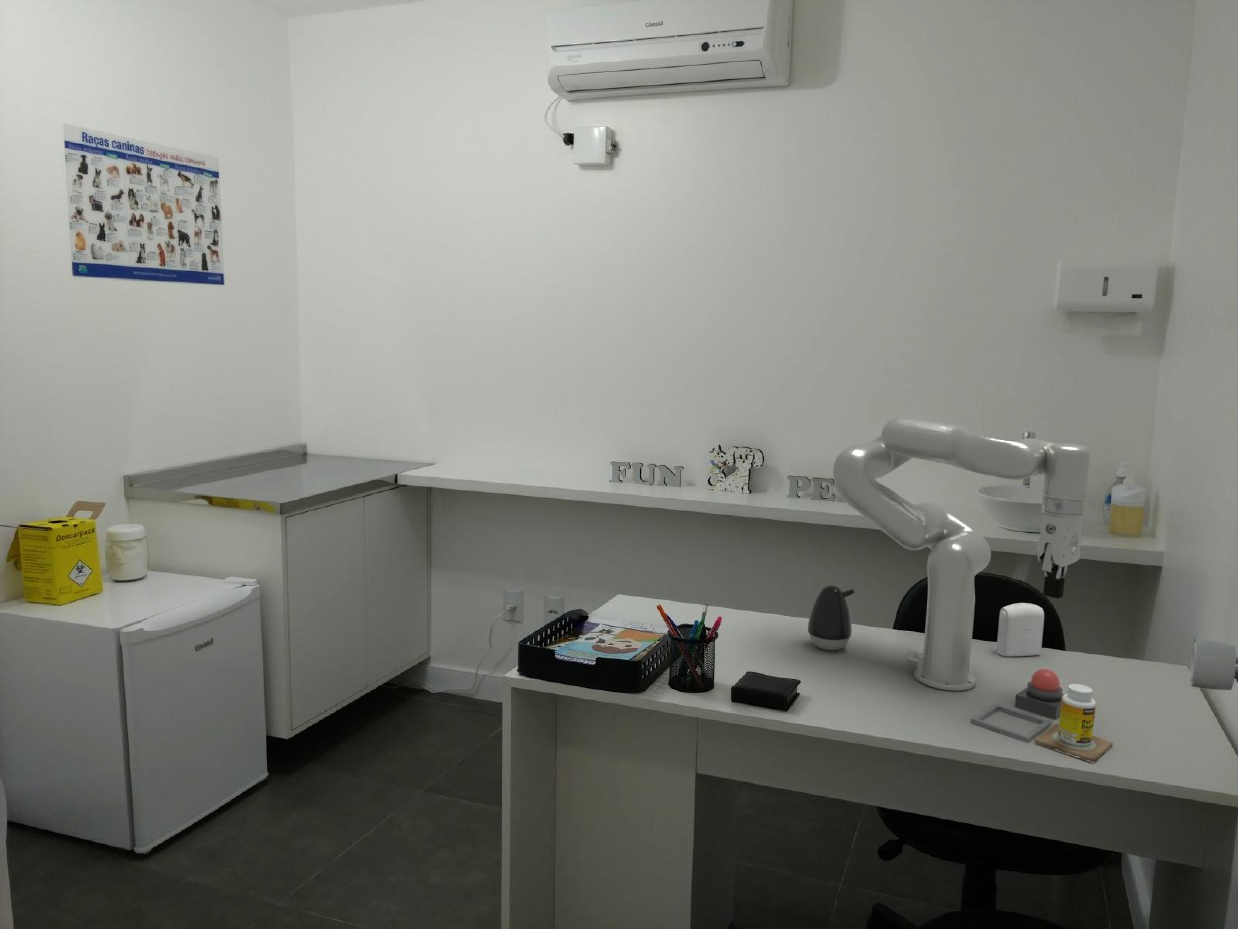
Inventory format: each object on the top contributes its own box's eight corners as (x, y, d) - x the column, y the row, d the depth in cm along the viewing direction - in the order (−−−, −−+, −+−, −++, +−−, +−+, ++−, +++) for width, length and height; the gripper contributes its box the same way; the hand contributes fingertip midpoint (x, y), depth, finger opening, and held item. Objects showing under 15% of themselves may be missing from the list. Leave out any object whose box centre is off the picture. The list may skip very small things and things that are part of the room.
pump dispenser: (856, 655, 206) (860, 592, 204) (811, 654, 206) (815, 591, 204) (845, 640, 216) (849, 580, 214) (803, 638, 216) (806, 578, 214)
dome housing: (1014, 706, 180) (1015, 694, 179) (1030, 695, 185) (1031, 684, 185) (1055, 719, 174) (1056, 707, 173) (1070, 708, 179) (1072, 696, 179)
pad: (1034, 743, 163) (1035, 739, 163) (1055, 727, 170) (1056, 723, 170) (1092, 763, 156) (1093, 758, 156) (1112, 746, 163) (1112, 741, 163)
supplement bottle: (1080, 750, 159) (1087, 696, 158) (1051, 738, 164) (1057, 685, 162) (1097, 743, 162) (1103, 690, 161) (1068, 731, 167) (1073, 679, 165)
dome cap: (1020, 705, 180) (1024, 669, 178) (1033, 697, 184) (1036, 661, 183) (1053, 715, 175) (1057, 678, 174) (1065, 706, 179) (1069, 670, 178)
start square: (970, 722, 171) (970, 718, 171) (995, 707, 179) (995, 703, 179) (1028, 742, 164) (1028, 738, 163) (1051, 725, 171) (1051, 721, 171)
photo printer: (1003, 658, 206) (1008, 607, 204) (993, 651, 211) (997, 601, 209) (1043, 656, 208) (1048, 606, 206) (1032, 650, 212) (1037, 600, 210)
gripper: (1067, 514, 166) (1057, 608, 169) (1097, 505, 176) (1086, 594, 179) (1027, 507, 171) (1017, 598, 174) (1058, 499, 181) (1048, 585, 184)
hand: (1052, 596), depth 177 cm, fingers closed
